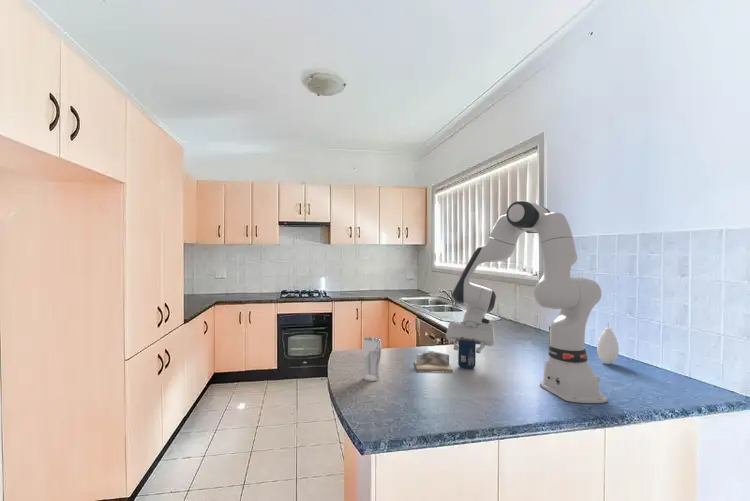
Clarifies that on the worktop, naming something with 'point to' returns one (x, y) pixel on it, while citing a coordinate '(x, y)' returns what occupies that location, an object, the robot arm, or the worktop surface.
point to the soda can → (466, 353)
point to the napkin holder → (433, 362)
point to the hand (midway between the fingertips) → (466, 350)
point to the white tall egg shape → (607, 346)
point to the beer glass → (371, 358)
